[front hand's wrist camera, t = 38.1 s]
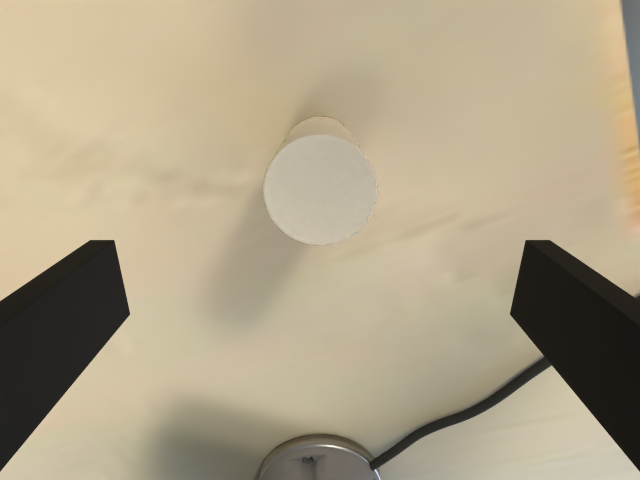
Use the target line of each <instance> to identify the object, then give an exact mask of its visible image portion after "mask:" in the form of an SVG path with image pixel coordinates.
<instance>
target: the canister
mask: <svg viewBox="0 0 640 480" xmlns="http://www.w3.org/2000/svg"><path fill="white" fill-rule="evenodd" d="M263 198H264V202H265V206H266V209H267V212H268V213H269V215H270V217H271V219H272V220H273V222H274V223H275V224H276V226H277V227H278V228H279V229H280V230H281V231H282V232H284V233H285V234H286V235H288V236H289V237H291V238H293V239H295V240H297V241H299V242H302V243H305V244H310V245H330V244H335V243H338V242H341V241H343V240H346V239H347V238H349V237H351V236H353V235H354V234H355V233H357V232H358V231H359V230H360V229H361V228H362V227H363V226H364V225H365V223H366V222H367V221H368V219H369V217H370V216H371V214H372V212H373V209H374V206H375V203H376V198H377V181H376V177H375V173H374V170H373V168H372V166H371V164H370V162H369V160H368V159H367V157H366V155H365V154H364V152H363V151H362V149H361V148H360V146H359V145H358V143H357V141H356V140H355V138H354V137H353V135H352V134H351V132H350V131H349V130H348V129H347V128H346V127H345V126H344V125H343V124H342V123H340V122H339V121H337V120H334V119H332V118H328V117H311V118H308V119H306V120H303V121H301V122H300V123H298V124H297V125H296V126H295V127H294V128H293V129H292V130H291V131H290V132H289V134H288V135H287V137H286V138H285V140H284V142H283V143H282V145H281V146H280V148H279V149H278V151H277V153H276V154H275V156H274V157H273V159H272V160H271V162H270V164H269V166H268V168H267V171H266V174H265V177H264V182H263Z"/></svg>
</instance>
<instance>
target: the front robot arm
mask: <svg viewBox="0 0 640 480" xmlns="http://www.w3.org/2000/svg"><path fill="white" fill-rule="evenodd" d="M129 315H130V312H129V307H128V302H127V298H126V293H125V288H124V284H123V279H122V274H121V270H120V265H119V260H118V256H117V251H116V246H115V242H114V240H90V241H88V242H87V243H85V244H84V245H82V246H81V247H79V248H78V249H77V250H75V251H74V252H72V253H71V254H69V255H68V256H66V257H65V258H63V259H62V260H60V261H59V262H57V263H56V264H54V265H53V266H51V267H50V268H49V269H47V270H46V271H44V272H43V273H41V274H40V275H38V276H37V277H35V278H34V279H32V280H31V281H29V282H28V283H26V284H25V285H23V286H22V287H21V288H19V289H18V290H16V291H15V292H13V293H12V294H10V295H9V296H7V297H6V298H4V299H3V300H1V301H0V471H1V470H2V469H3V467H4V466H5V465H6V464H7V463H8V461H9V460H10V459H11V458H12V457H13V455H14V454H15V453H16V452H17V451H18V449H19V448H20V447H21V446H22V444H23V443H24V442H25V441H26V440H27V438H28V437H29V436H30V435H31V434H32V432H33V431H34V430H35V429H36V428H37V426H38V425H39V424H40V423H41V421H42V420H43V419H44V418H45V417H46V415H47V414H48V413H49V412H50V411H51V409H52V408H53V407H54V406H55V405H56V403H57V402H58V401H59V400H60V398H61V397H62V396H63V395H64V394H65V392H66V391H67V390H68V389H69V388H70V386H71V385H72V384H73V383H74V381H75V380H76V379H77V378H78V377H79V375H80V374H81V373H82V372H83V371H84V369H85V368H86V367H87V366H88V365H89V363H90V362H91V361H92V360H93V358H94V357H95V356H96V355H97V354H98V352H99V351H100V350H101V349H102V348H103V346H104V345H105V344H106V343H107V342H108V340H109V339H110V338H111V337H112V335H113V334H114V333H115V332H116V331H117V329H118V328H119V327H120V326H121V325H122V323H123V322H124V321H125V320H126V319H127V317H128V316H129ZM510 315H511V316H512V317H513V319H514V320H515V321H516V322H517V323H518V325H519V326H520V327H521V328H522V329H523V331H524V332H525V333H526V334H527V335H528V337H529V338H530V339H531V340H532V342H533V343H534V344H535V345H536V346H537V348H538V349H539V350H540V351H541V352H542V354H543V355H544V356H545V358H543V359H542V360H540V361H539V362H537V363H536V364H534V365H533V366H532V367H530V368H529V369H527V370H526V371H524V372H523V373H522V374H520V375H519V376H518V377H516V378H515V379H514V380H512V381H511V382H510V383H508V384H507V385H506V386H504V387H503V388H502V389H500V390H499V391H498V392H496V393H495V394H493V395H492V396H490V397H489V398H487V399H485V400H484V401H482V402H480V403H479V404H477V405H475V406H473V407H471V408H469V409H467V410H464V411H462V412H459V413H457V414H454V415H451V416H448V417H445V418H442V419H440V420H437V421H434V422H432V423H430V424H427V425H425V426H423V427H421V428H419V429H417V430H416V431H414V432H412V433H411V434H409V435H408V436H407V437H405V438H404V439H403V440H401V441H400V442H399V443H397V444H396V445H394V446H393V447H392V448H390V449H389V450H387V451H386V452H384V453H383V454H381V455H380V456H378V457H377V458H375V459H374V458H373V457H372V455H371V454H370V453H369V452H368V451H367V450H365V449H364V448H363V447H361V446H360V445H358V444H356V443H355V442H352V441H350V440H347V439H344V438H341V437H337V436H330V435H310V436H304V437H299V438H296V439H293V440H290V441H288V442H286V443H284V444H282V445H280V446H279V447H277V448H276V449H275V450H273V451H272V452H271V453H270V454H269V455H268V457H267V458H266V459H265V461H264V463H263V465H262V468H261V472H260V479H259V480H381V479H380V472H379V468H378V467H380V466H381V465H383V464H384V463H386V462H387V461H389V460H390V459H392V458H393V457H395V456H396V455H398V454H399V453H401V452H402V451H403V450H405V449H406V448H407V447H409V446H410V445H411V444H413V443H414V442H416V441H417V440H419V439H421V438H422V437H424V436H426V435H428V434H430V433H432V432H435V431H437V430H440V429H442V428H445V427H448V426H451V425H454V424H457V423H460V422H462V421H465V420H467V419H470V418H472V417H474V416H477V415H478V414H480V413H482V412H484V411H486V410H488V409H489V408H491V407H493V406H494V405H496V404H498V403H499V402H501V401H502V400H503V399H505V398H506V397H508V396H509V395H510V394H512V393H513V392H515V391H516V390H517V389H519V388H520V387H521V386H523V385H524V384H525V383H527V382H528V381H529V380H531V379H532V378H534V377H535V376H537V375H538V374H539V373H541V372H542V371H544V370H545V369H547V368H548V367H550V366H551V365H552V366H553V367H554V368H555V369H556V371H557V372H558V373H559V374H560V375H561V377H562V378H563V379H564V380H565V381H566V383H567V384H568V385H569V386H570V388H571V389H572V390H573V391H574V392H575V394H576V395H577V396H578V397H579V398H580V400H581V401H582V402H583V403H584V405H585V406H586V407H587V408H588V409H589V411H590V412H591V413H592V414H593V415H594V417H595V418H596V419H597V420H598V421H599V423H600V424H601V425H602V426H603V428H604V429H605V430H606V431H607V432H608V434H609V435H610V436H611V437H612V438H613V440H614V441H615V442H616V443H617V444H618V446H619V447H620V448H621V449H622V451H623V452H624V453H625V454H626V455H627V457H628V458H629V459H630V460H631V461H632V463H633V464H634V465H635V466H636V467H637V469H638V470H639V471H640V296H639V297H638V298H634V297H633V296H631V295H630V294H628V293H627V292H625V291H624V290H622V289H621V288H619V287H618V286H617V285H615V284H614V283H612V282H611V281H609V280H608V279H606V278H605V277H603V276H602V275H600V274H599V273H597V272H596V271H594V270H593V269H591V268H590V267H589V266H587V265H586V264H584V263H583V262H581V261H580V260H578V259H577V258H575V257H574V256H572V255H571V254H569V253H568V252H566V251H565V250H563V249H562V248H561V247H559V246H558V245H556V244H555V243H553V242H552V241H550V240H526V242H525V246H524V251H523V256H522V260H521V265H520V270H519V274H518V279H517V284H516V288H515V293H514V298H513V302H512V307H511V312H510Z"/></svg>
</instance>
